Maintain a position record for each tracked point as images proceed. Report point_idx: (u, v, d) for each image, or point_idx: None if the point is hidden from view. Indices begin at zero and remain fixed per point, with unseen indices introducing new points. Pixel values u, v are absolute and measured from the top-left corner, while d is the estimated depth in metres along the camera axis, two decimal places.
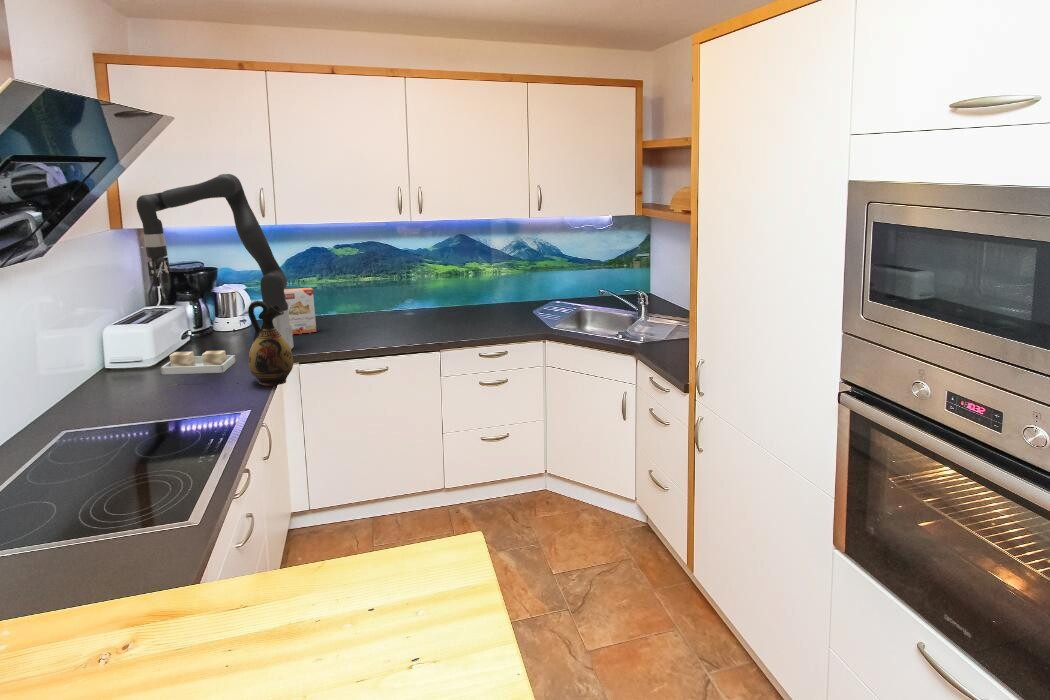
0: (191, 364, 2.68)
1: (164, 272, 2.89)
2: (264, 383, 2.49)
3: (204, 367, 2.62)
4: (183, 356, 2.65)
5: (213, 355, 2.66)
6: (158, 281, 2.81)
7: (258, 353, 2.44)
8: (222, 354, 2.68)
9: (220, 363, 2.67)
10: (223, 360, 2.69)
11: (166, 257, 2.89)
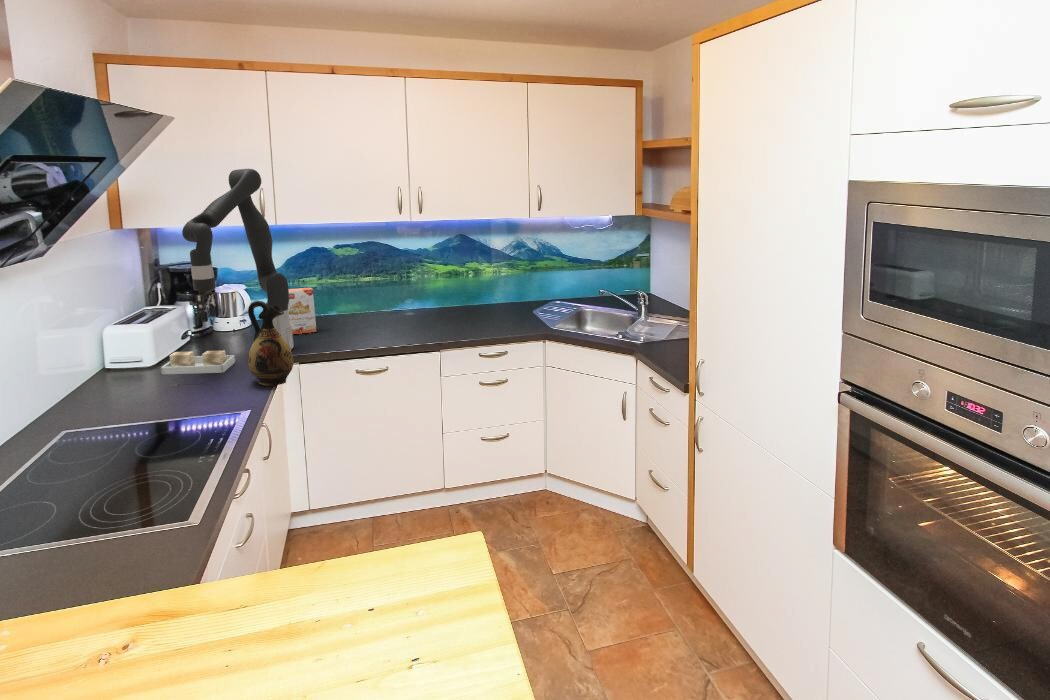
0: (191, 364, 2.68)
1: (211, 305, 2.68)
2: (264, 383, 2.49)
3: (204, 367, 2.62)
4: (183, 356, 2.65)
5: (213, 355, 2.66)
6: (206, 316, 2.60)
7: (258, 353, 2.44)
8: (222, 354, 2.68)
9: (220, 363, 2.67)
10: (223, 360, 2.69)
11: (213, 289, 2.68)
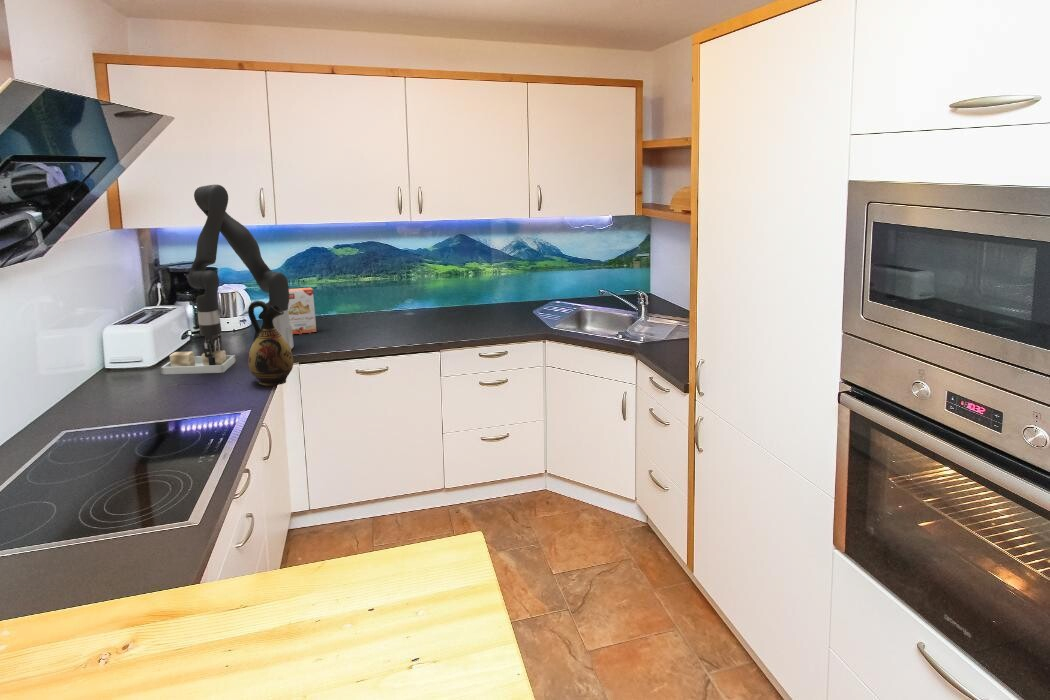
0: (191, 364, 2.68)
1: None
2: (264, 383, 2.49)
3: (204, 367, 2.62)
4: (183, 356, 2.65)
5: None
6: (214, 361, 2.66)
7: (258, 353, 2.44)
8: (222, 354, 2.68)
9: (220, 363, 2.67)
10: (223, 360, 2.69)
11: (219, 335, 2.73)
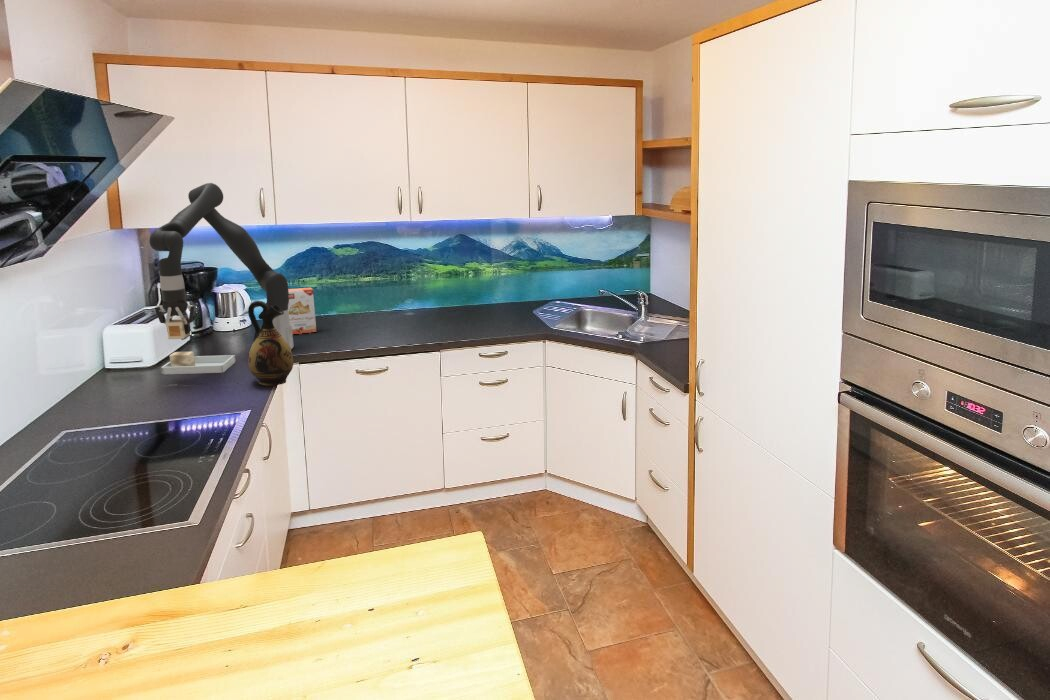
0: (191, 364, 2.68)
1: None
2: (264, 383, 2.49)
3: (204, 367, 2.62)
4: (183, 356, 2.65)
5: None
6: None
7: (258, 353, 2.44)
8: None
9: None
10: None
11: (159, 306, 2.50)
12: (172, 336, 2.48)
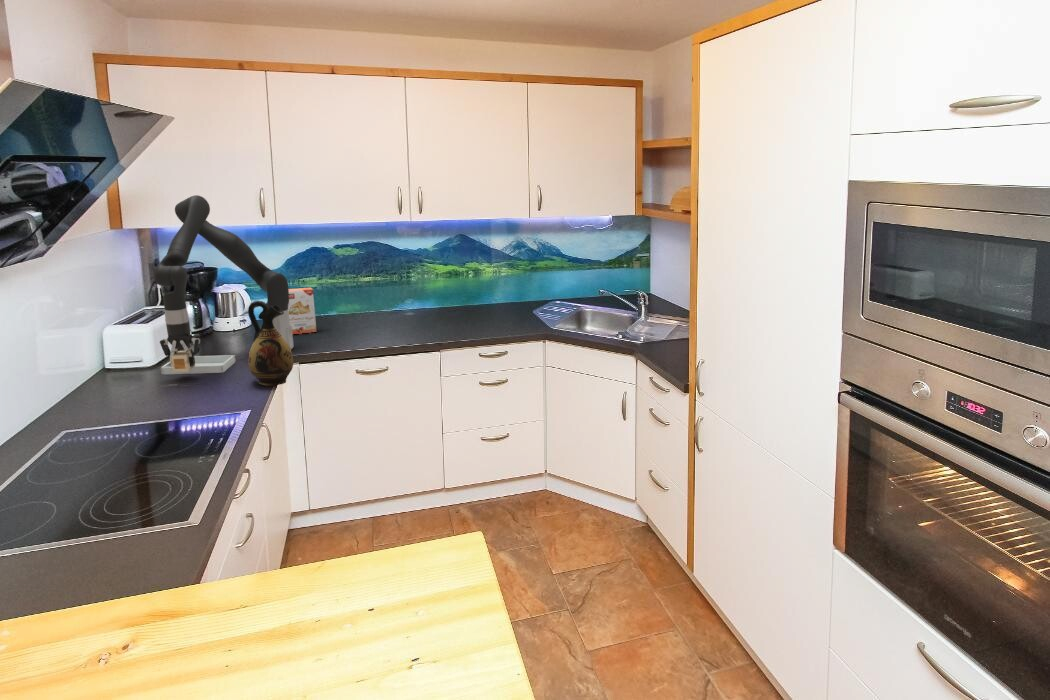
0: None
1: None
2: (264, 383, 2.49)
3: (204, 367, 2.62)
4: None
5: None
6: None
7: (258, 353, 2.44)
8: None
9: None
10: None
11: (164, 339, 2.53)
12: (177, 369, 2.52)
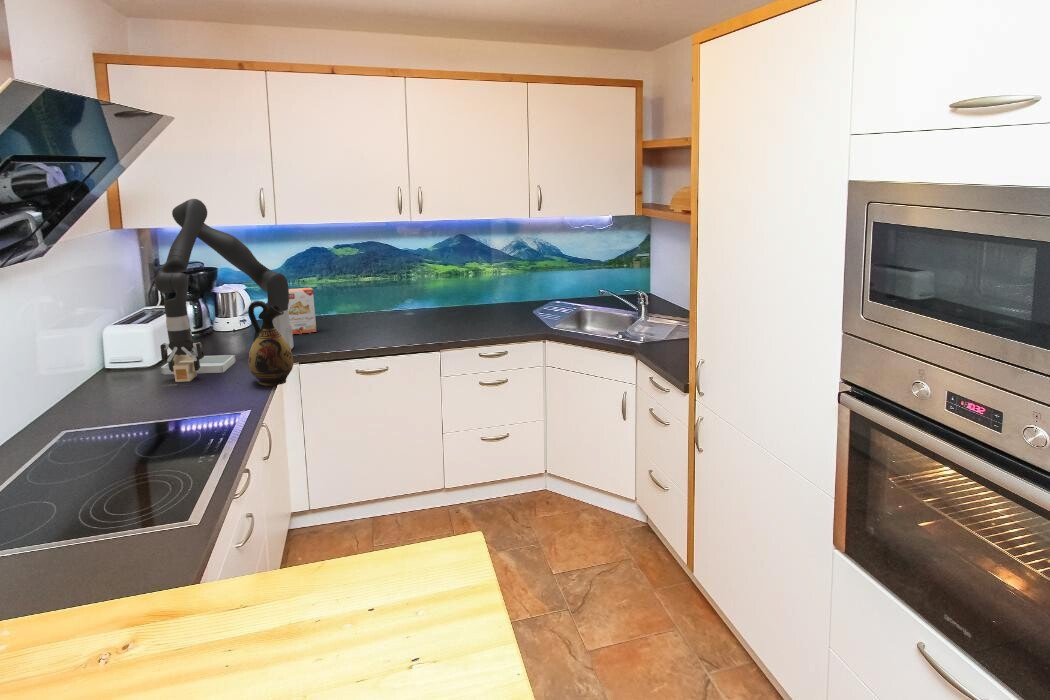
0: None
1: (171, 359, 2.54)
2: (264, 383, 2.49)
3: (204, 367, 2.62)
4: (183, 356, 2.65)
5: (192, 364, 2.56)
6: None
7: (258, 353, 2.44)
8: None
9: None
10: None
11: (165, 343, 2.53)
12: (179, 379, 2.53)
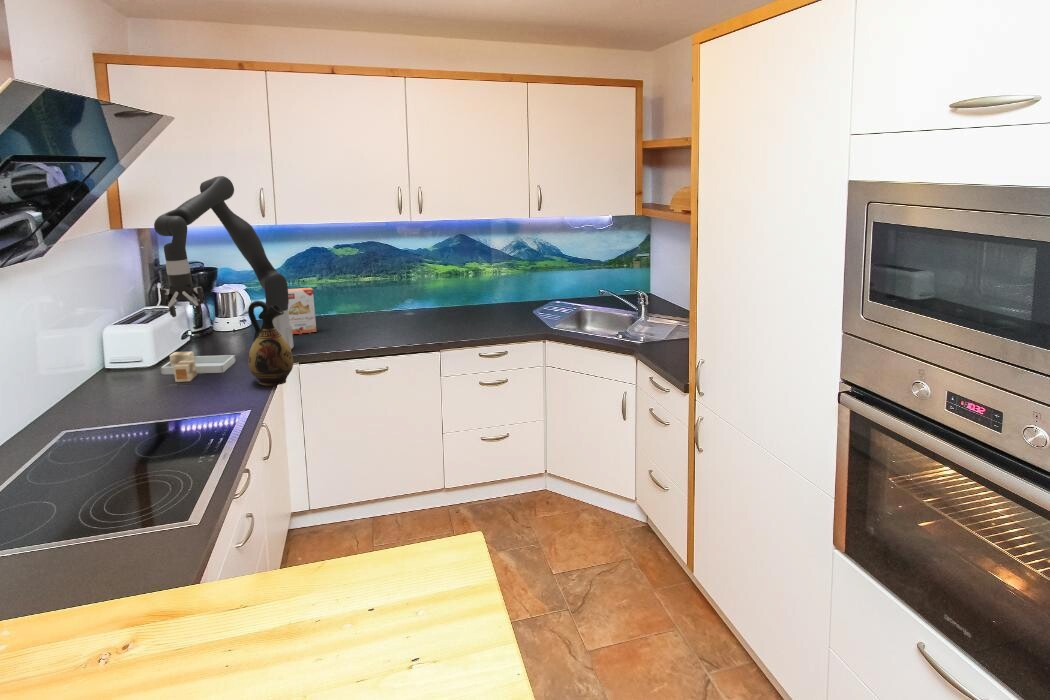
0: None
1: (172, 304, 2.54)
2: (264, 383, 2.49)
3: (204, 367, 2.62)
4: (183, 356, 2.65)
5: (192, 364, 2.56)
6: None
7: (258, 353, 2.44)
8: None
9: (195, 370, 2.59)
10: None
11: (165, 288, 2.53)
12: (179, 379, 2.53)
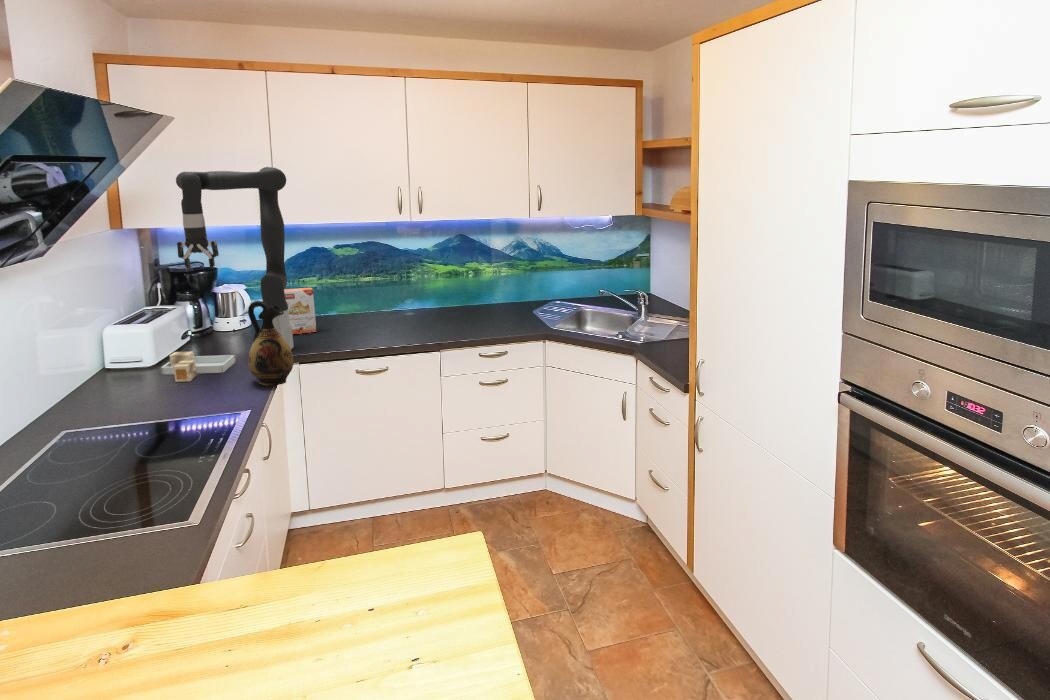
0: None
1: (187, 257, 2.67)
2: (264, 383, 2.49)
3: (204, 367, 2.62)
4: (183, 356, 2.65)
5: (192, 364, 2.56)
6: None
7: (258, 353, 2.44)
8: None
9: (195, 370, 2.59)
10: None
11: (181, 241, 2.66)
12: (179, 379, 2.53)
